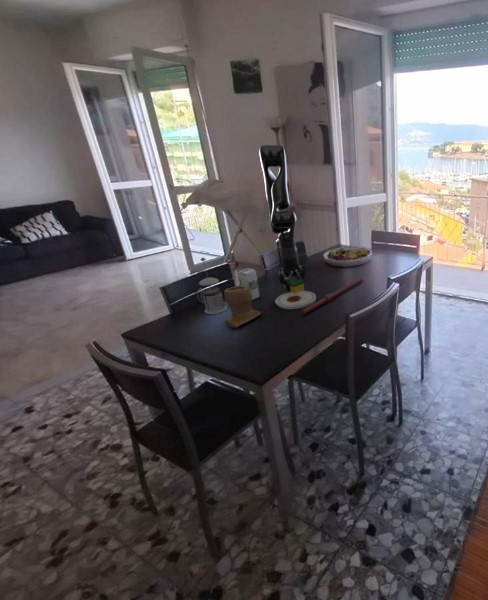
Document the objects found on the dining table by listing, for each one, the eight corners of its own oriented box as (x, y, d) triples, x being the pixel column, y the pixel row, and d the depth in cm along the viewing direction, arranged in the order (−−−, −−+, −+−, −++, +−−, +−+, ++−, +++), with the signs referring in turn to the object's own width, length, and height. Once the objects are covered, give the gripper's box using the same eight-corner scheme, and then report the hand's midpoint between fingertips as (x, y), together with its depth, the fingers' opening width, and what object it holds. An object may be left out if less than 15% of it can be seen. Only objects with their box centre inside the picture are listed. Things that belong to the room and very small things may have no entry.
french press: (232, 306, 167) (220, 255, 157) (213, 317, 157) (198, 263, 147) (215, 303, 170) (202, 253, 160) (196, 314, 160) (180, 261, 150)
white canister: (252, 295, 179) (246, 267, 173) (260, 296, 177) (255, 269, 171) (243, 299, 174) (237, 271, 168) (251, 301, 172) (246, 273, 166)
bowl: (333, 253, 242) (331, 242, 239) (376, 254, 238) (375, 242, 235) (317, 267, 215) (316, 255, 212) (366, 269, 211) (365, 256, 208)
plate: (268, 302, 171) (267, 299, 170) (301, 289, 184) (300, 287, 183) (290, 313, 160) (290, 310, 159) (324, 299, 173) (324, 296, 172)
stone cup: (246, 310, 162) (239, 280, 156) (265, 315, 158) (259, 284, 151) (217, 325, 150) (209, 292, 144) (237, 331, 145) (229, 297, 139)
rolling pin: (306, 316, 156) (305, 310, 155) (300, 315, 158) (299, 308, 156) (364, 282, 192) (363, 277, 190) (359, 281, 193) (358, 276, 192)
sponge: (284, 289, 170) (283, 280, 168) (294, 285, 174) (293, 277, 172) (294, 293, 165) (293, 284, 163) (304, 289, 169) (303, 281, 167)
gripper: (297, 250, 169) (302, 283, 177) (270, 257, 160) (276, 292, 167) (307, 253, 165) (311, 286, 172) (280, 261, 155) (285, 296, 162)
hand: (294, 289), depth 169 cm, fingers closed on sponge, 5 cm apart
